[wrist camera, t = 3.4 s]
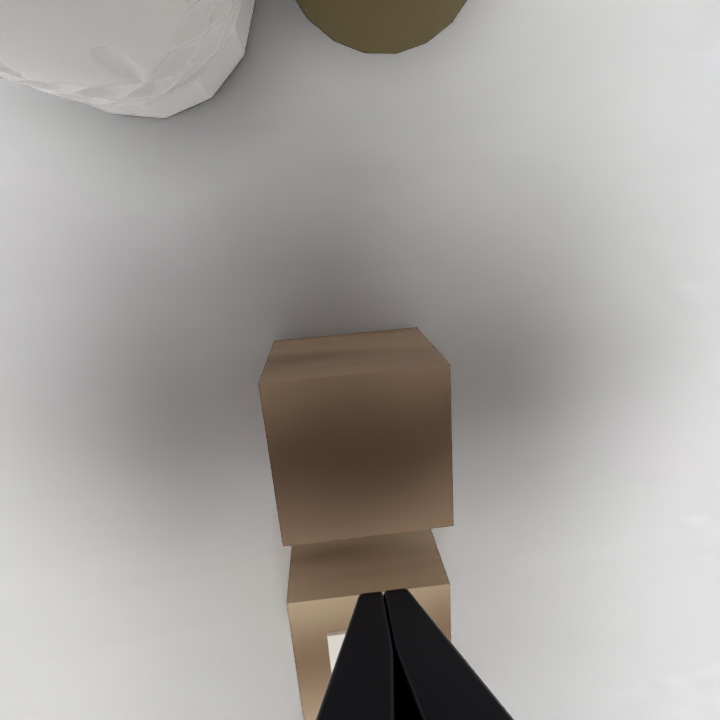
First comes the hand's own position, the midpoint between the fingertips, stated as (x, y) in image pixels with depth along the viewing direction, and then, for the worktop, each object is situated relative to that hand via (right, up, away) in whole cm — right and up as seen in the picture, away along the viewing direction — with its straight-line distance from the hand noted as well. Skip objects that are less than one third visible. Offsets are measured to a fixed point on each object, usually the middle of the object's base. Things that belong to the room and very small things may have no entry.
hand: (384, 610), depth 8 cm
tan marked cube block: (0, -4, +11) cm, 12 cm away
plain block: (-1, +3, +9) cm, 10 cm away
